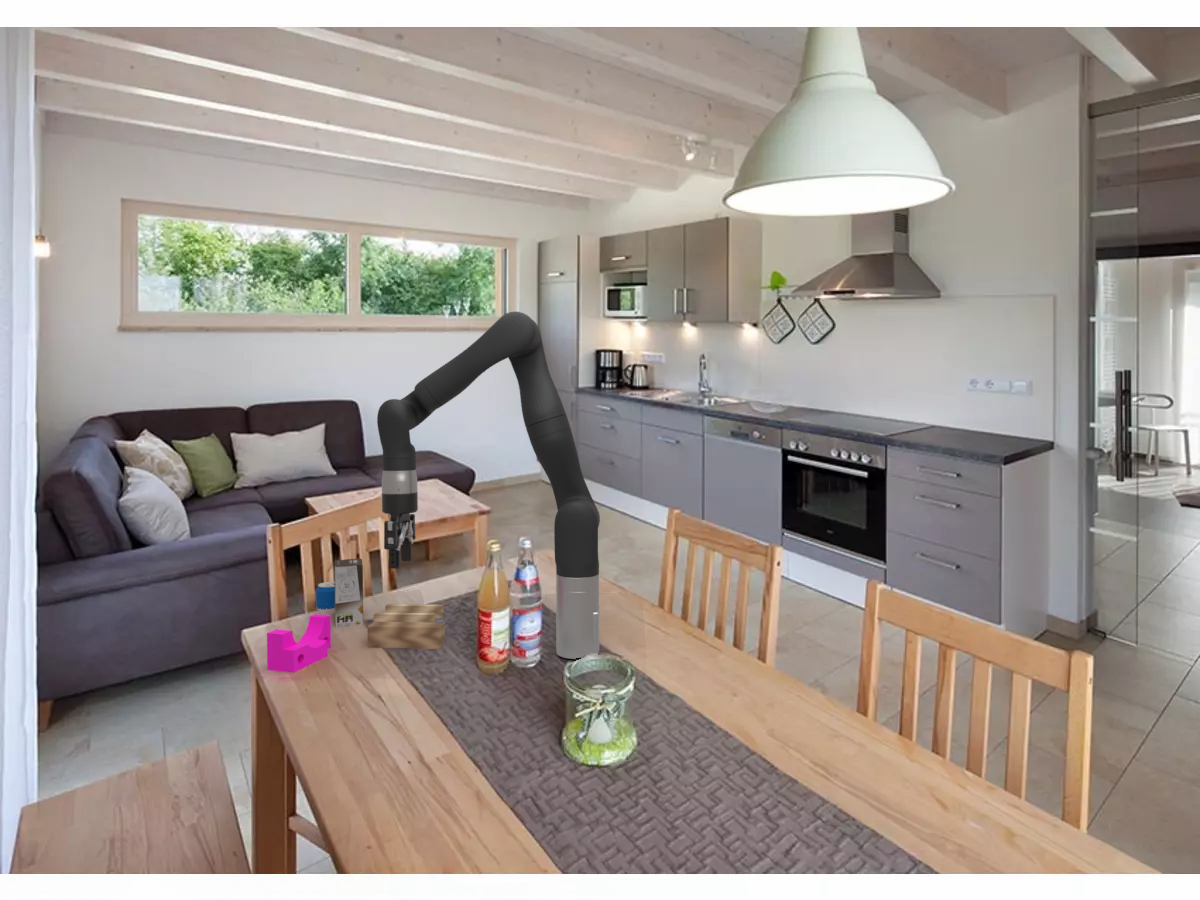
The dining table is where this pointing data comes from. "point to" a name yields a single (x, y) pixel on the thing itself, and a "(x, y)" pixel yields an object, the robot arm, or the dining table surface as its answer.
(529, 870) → the dining table surface
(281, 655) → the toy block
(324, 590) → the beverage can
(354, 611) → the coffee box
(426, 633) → the walnut beam
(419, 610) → the rail stand
